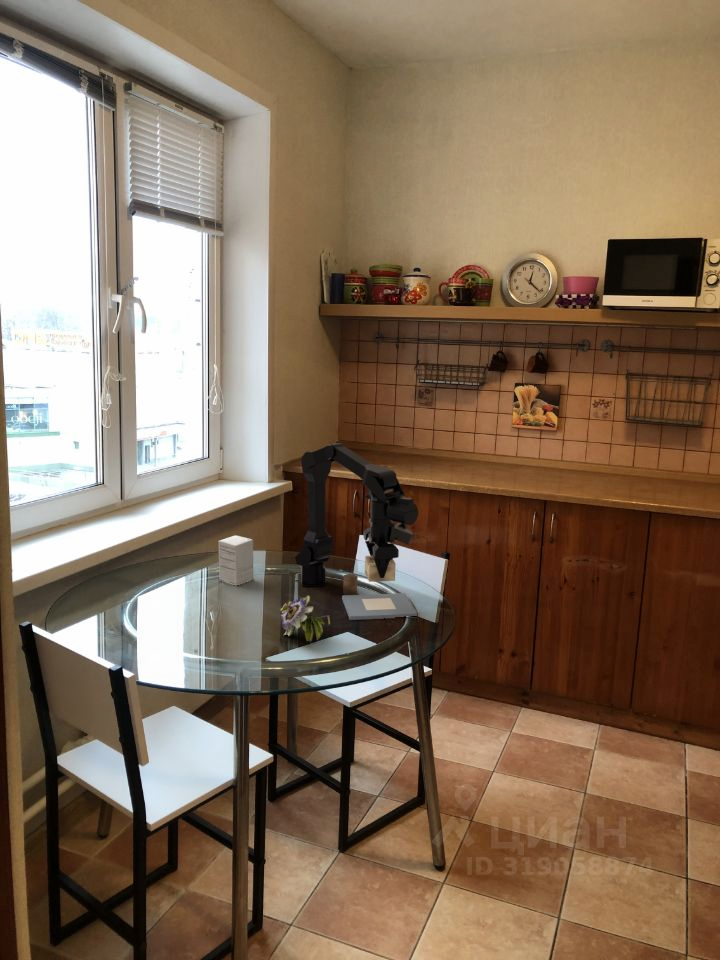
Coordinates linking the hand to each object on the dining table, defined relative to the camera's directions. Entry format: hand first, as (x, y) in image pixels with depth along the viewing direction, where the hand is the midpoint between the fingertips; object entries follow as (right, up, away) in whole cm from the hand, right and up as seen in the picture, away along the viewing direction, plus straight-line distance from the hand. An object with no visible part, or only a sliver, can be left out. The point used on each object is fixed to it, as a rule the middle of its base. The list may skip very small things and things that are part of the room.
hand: (379, 573), depth 209 cm
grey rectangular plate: (0, -10, +2) cm, 10 cm away
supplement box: (-42, -5, +20) cm, 47 cm away
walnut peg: (-8, -7, +13) cm, 17 cm away
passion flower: (-19, -14, -16) cm, 29 cm away
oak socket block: (0, -1, 0) cm, 1 cm away
